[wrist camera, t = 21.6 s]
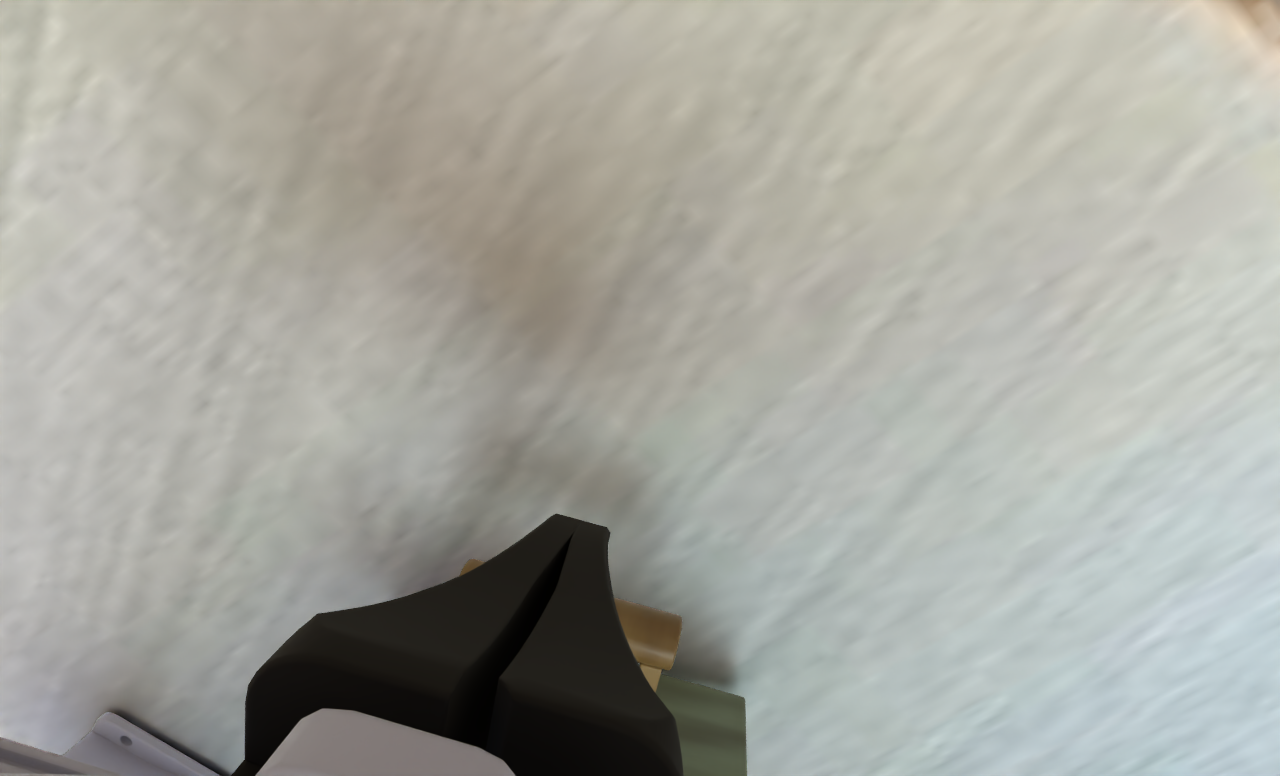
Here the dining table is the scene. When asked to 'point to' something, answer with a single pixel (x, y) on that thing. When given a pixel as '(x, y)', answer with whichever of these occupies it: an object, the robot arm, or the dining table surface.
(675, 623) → the drawer
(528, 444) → the dining table surface
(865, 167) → the dining table surface
